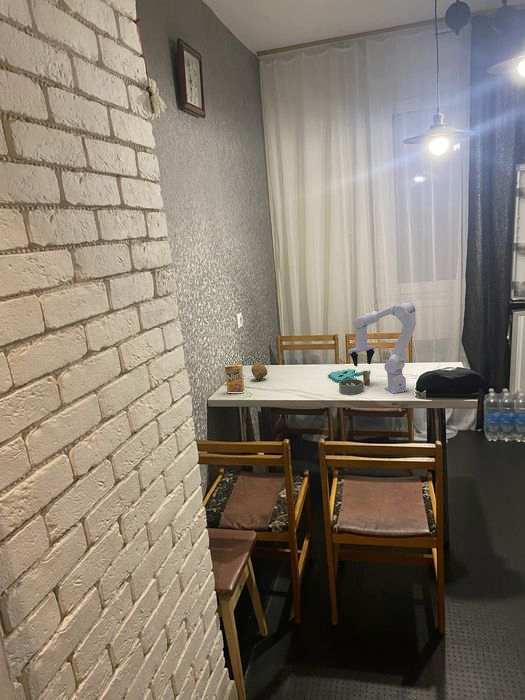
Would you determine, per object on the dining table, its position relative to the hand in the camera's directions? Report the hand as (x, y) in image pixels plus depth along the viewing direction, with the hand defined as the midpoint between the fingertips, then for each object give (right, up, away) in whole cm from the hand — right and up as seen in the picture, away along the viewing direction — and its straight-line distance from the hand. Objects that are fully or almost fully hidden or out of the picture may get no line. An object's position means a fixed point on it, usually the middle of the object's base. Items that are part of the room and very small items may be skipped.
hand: (362, 364), depth 258 cm
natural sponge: (-53, -10, +27) cm, 60 cm away
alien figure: (-5, -8, +17) cm, 19 cm away
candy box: (-66, -15, +8) cm, 68 cm away
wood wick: (+3, -10, +1) cm, 11 cm away
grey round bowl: (-7, -13, -7) cm, 16 cm away
